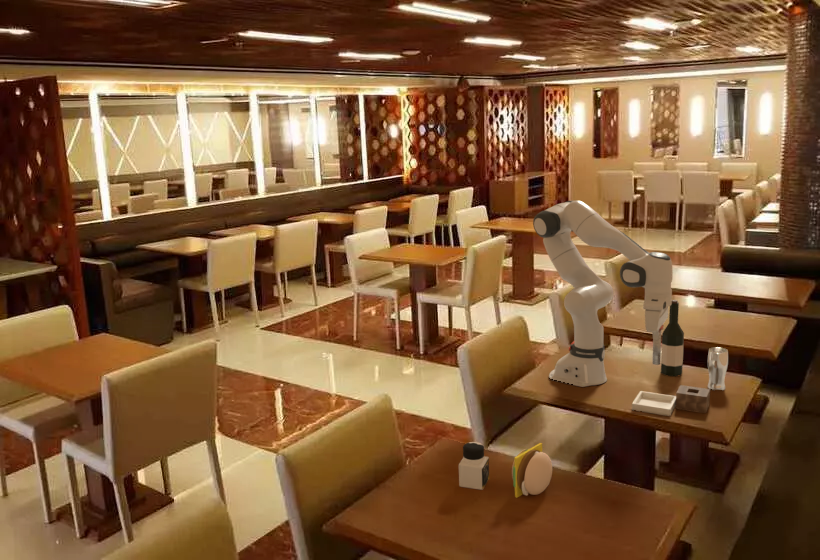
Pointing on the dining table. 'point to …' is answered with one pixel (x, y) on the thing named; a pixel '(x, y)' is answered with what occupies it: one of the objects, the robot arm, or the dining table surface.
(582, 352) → the robot arm
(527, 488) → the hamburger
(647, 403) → the tray
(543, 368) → the dining table surface
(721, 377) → the beer glass
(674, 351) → the wine bottle
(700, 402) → the block
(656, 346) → the pin
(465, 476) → the medicine bottle
